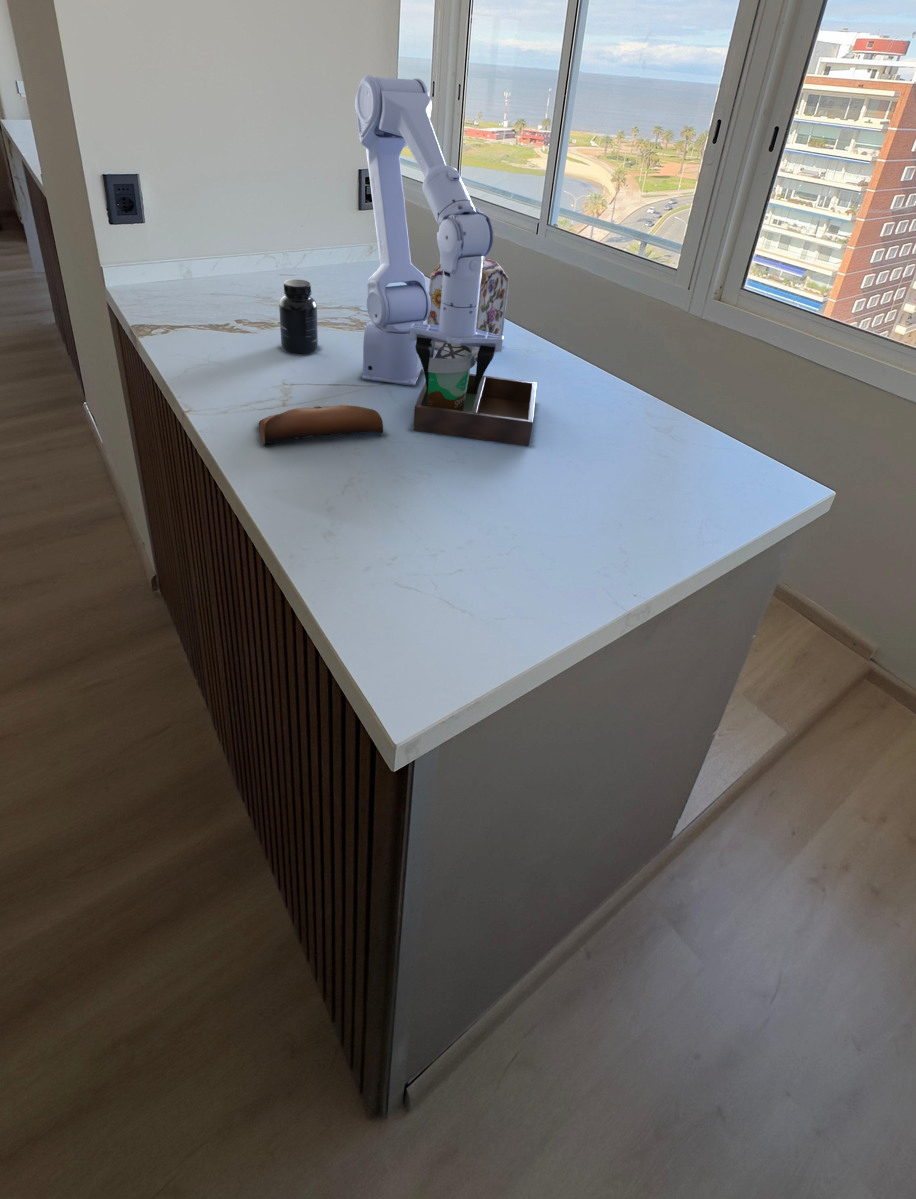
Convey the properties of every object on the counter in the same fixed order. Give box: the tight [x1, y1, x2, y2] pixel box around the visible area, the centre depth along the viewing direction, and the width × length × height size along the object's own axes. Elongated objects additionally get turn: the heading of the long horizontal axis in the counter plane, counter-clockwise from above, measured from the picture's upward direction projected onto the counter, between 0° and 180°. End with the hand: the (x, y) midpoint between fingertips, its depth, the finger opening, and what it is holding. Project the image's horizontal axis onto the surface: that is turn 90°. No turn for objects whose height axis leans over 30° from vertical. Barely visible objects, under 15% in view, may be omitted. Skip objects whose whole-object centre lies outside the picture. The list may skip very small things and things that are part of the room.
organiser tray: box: [413, 373, 537, 447], centre depth 120 cm, size 18×17×4 cm
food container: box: [428, 343, 476, 411], centre depth 117 cm, size 12×6×10 cm, turn 168°
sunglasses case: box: [258, 404, 384, 445], centre depth 110 cm, size 18×7×7 cm
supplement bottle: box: [278, 278, 319, 355], centre depth 134 cm, size 7×7×12 cm
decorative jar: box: [426, 256, 510, 360], centre depth 141 cm, size 12×12×18 cm
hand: (452, 388), depth 118 cm, fingers open, 7 cm apart
